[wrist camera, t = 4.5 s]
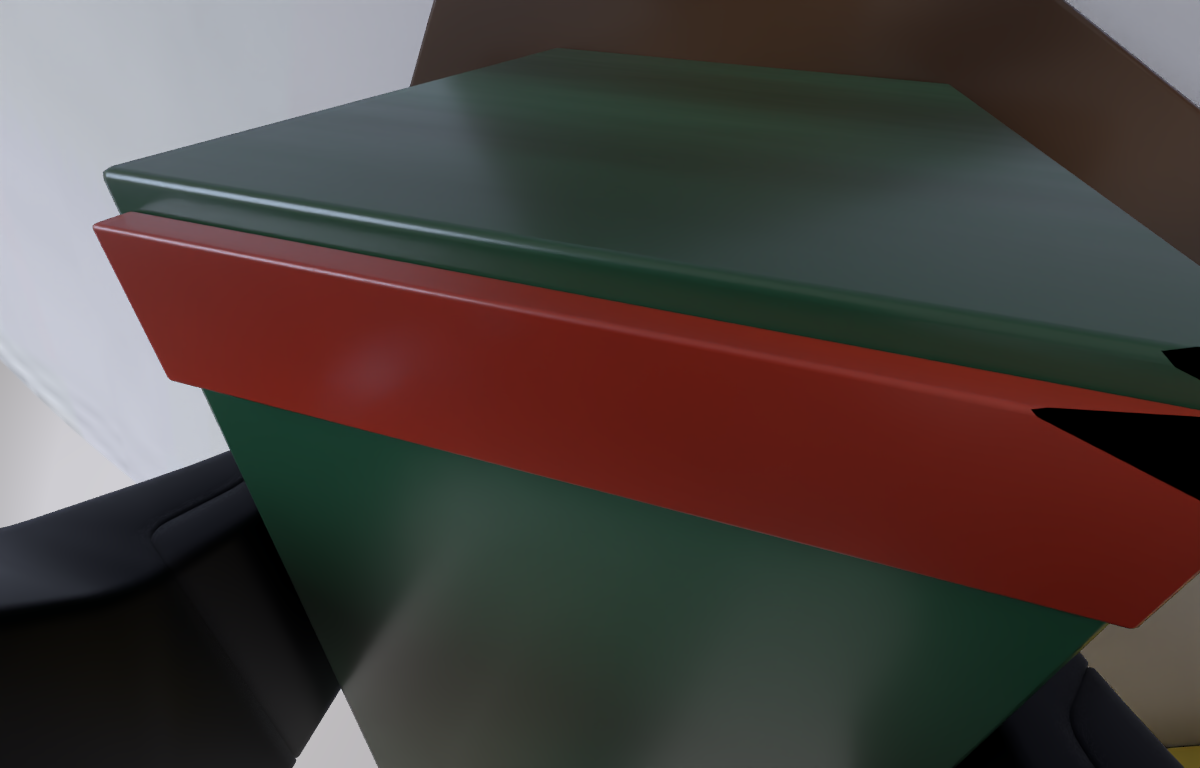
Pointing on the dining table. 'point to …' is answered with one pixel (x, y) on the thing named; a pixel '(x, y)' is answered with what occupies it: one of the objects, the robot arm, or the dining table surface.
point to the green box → (680, 406)
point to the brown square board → (896, 71)
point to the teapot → (1187, 756)
